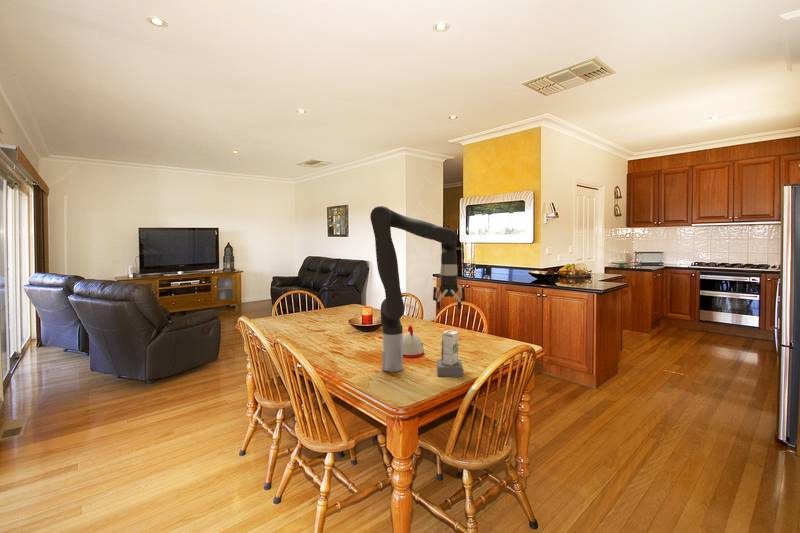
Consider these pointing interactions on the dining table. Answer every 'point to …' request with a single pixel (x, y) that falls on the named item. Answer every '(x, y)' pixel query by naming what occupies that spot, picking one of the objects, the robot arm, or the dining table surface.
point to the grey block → (449, 369)
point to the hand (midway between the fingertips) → (448, 309)
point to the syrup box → (449, 347)
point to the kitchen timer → (412, 344)
